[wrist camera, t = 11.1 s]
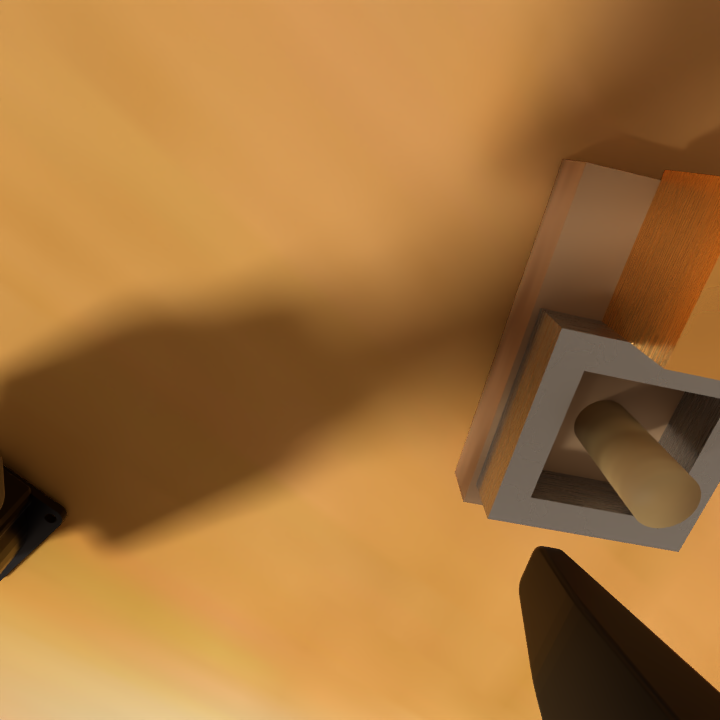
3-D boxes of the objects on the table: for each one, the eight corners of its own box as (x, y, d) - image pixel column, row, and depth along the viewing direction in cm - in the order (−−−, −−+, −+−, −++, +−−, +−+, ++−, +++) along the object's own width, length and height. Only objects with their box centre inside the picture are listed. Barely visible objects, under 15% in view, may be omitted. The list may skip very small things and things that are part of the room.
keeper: (626, 503, 24) (718, 628, 18) (455, 472, 23) (489, 591, 17) (776, 210, 19) (975, 247, 13) (562, 159, 18) (665, 171, 12)
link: (650, 515, 21) (711, 595, 18) (476, 484, 21) (501, 560, 17) (817, 206, 17) (948, 227, 13) (597, 153, 16) (669, 159, 12)
